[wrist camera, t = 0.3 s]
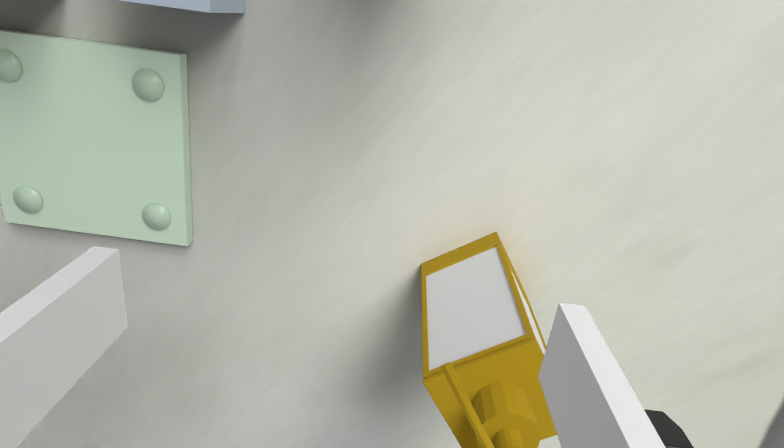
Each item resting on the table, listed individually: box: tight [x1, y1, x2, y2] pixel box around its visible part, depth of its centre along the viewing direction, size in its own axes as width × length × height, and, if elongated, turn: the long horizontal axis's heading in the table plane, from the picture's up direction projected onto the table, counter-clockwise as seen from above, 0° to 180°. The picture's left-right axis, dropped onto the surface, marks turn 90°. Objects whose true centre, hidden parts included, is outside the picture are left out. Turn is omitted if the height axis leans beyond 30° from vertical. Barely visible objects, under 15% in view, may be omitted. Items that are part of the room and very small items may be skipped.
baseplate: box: [0, 29, 193, 246], centre depth 41 cm, size 16×16×1 cm
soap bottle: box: [421, 232, 557, 448], centre depth 33 cm, size 7×13×24 cm, turn 27°
